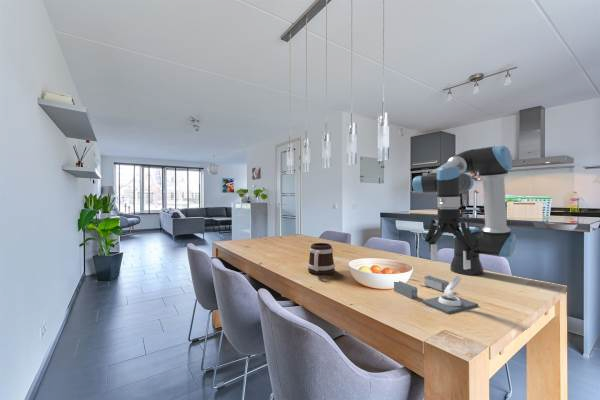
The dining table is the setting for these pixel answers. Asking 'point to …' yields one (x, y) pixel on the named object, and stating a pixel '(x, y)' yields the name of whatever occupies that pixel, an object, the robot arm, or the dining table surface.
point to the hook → (450, 294)
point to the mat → (446, 308)
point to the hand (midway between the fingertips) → (449, 264)
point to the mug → (321, 259)
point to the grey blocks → (412, 291)
